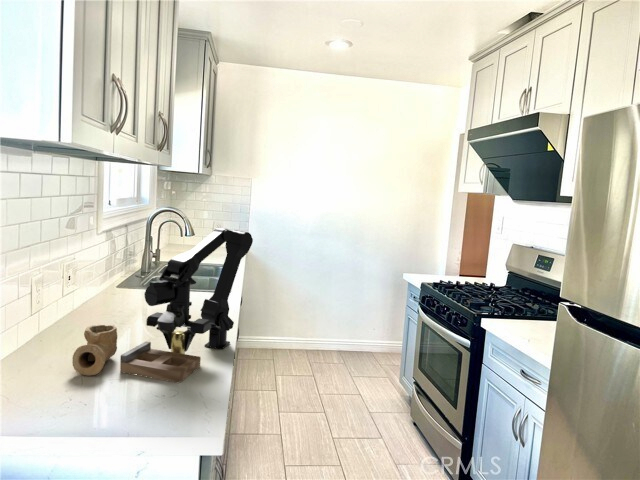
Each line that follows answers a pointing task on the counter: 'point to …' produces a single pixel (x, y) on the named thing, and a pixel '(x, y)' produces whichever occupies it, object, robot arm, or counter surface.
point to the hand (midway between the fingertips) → (178, 350)
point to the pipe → (95, 349)
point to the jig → (158, 363)
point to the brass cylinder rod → (178, 342)
